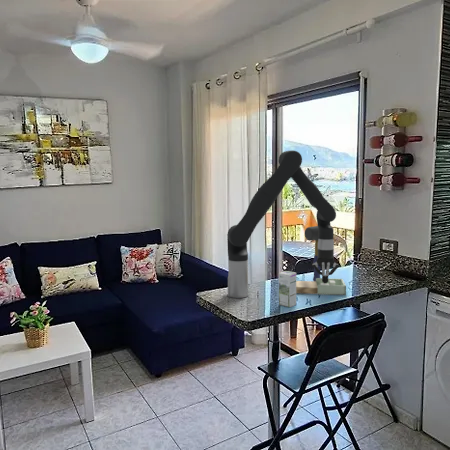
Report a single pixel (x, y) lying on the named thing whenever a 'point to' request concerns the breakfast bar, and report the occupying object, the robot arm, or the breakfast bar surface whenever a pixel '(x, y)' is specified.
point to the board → (306, 287)
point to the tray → (331, 287)
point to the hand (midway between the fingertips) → (325, 283)
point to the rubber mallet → (312, 235)
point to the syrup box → (287, 288)
